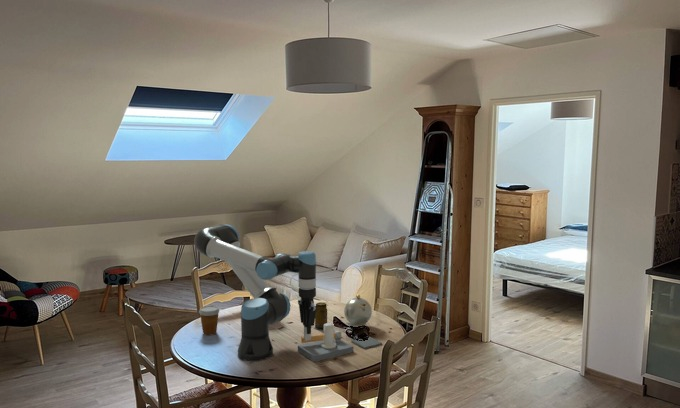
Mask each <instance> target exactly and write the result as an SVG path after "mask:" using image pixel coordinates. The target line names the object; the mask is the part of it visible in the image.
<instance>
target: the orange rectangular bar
mask: <svg viewBox="0 0 680 408" xmlns="http://www.w3.org/2000/svg"><path fill="white" fill-rule="evenodd" d="M334 339H341V340H342V331H341V330H334ZM322 340H324V333H319V334H318V333H317V334H311V340H309V341H304V335H303V336H301V341H300V342H301V344H307V343H312V342H316V341H322Z"/></svg>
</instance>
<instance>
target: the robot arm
mask: <svg viewBox="0 0 680 408" xmlns="http://www.w3.org/2000/svg"><path fill="white" fill-rule="evenodd" d="M239 236H240V235H239V232H238V230H237V229H236V228H235V226H233V225H231V224H218V225H215V226H210V227H204V228H202V229H200V230H199V231H198V232H197V233H196V234H195V236H194V240H193V241H194V242H193V243H194V244H193V245H194V247H195V249H196V250H197V251H198V253H200V254H201V255H203V256H206V257H209V258H210V259H212V258H217V259H219V260H220V259H221V261H222V260H223V261H225V262H226V263H227V264H228V266H229V267H230V268H231V270H232V271H233V272H234V274H235V275H236V276H237V278H238V279H239V280H240V282H241V283H242V284H243V286H244V287H245V289H246V290H247V291H248V292H249V294H250V295H251V296H252V298H250V299H247V300H245V301H244V302H243V303H242V304H241V307H240V325H241V328H240V331H241V338H240V340H239V341H240V342H239V345H238V348H237V357H238V358H239V359H241V360H244V361H250V362H253V361H255V362H258V361H263V360H267V359H270V358H271V357H272V356H273V354H274V347H273V344H272V341H271V339H270V331H269V329H270V326H272V325H273V324H276V323H278V322H280V321H282V320H284V319H285V318H287V317H288V315H289V314H290V312H291V301H290V299H289V297H288V296H287V295H286V294H285V293H283V292H278V290H277V288H276V287H274V286H271V287H269V286H270V285H268V283H267V282H266V281H267V280H271V279H273V278H275V277H277V276H280V275H284V274H286V273H295V274H298V297H300V299H298V300H297V303H298V308H299V317H300V322H301V323H302V325H303V336H304V341H309V340H311V335H312V327H311V326H315V315H316V310H317V306H316V304H315V301H314V298H316V296H317V288H316V287H317V273H316V272H317V257H316V253H315V252H313V251H311V250H309V251H307V250H304V251H303V250H302V251H299V252H298V254H297V255H295V254H290V253H289V254H288V253H278V254H276V255H275V256H274V258H269V257H266V256H263V255H262V254H261V255H260V254H258V253H256V252H252V251H250V250H247V249H244V248H241V247H240V246H241V242H240V237H239ZM275 288H276V289H275Z"/></svg>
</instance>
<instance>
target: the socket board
mask: <svg viewBox="0 0 680 408" xmlns="http://www.w3.org/2000/svg"><path fill="white" fill-rule="evenodd" d="M323 342H324V340H322V341H315V342H307V343H302V344H300V345H297V352H298V353H300V354H301V355H303V356H305V357H306V358H308V359H309V360H311V361H312V362H313V363H315V362H319V361H320V362H321V361H323V360H328V359H330V358H331V359H332V358H336V357H338V356H339V357H340V356H343V355H347V354H350V353H354V346H353V345H352V344H349V343H348V342H346V341H344V340H342V338H341V339H334V342H335V343H336V348H334V349H324V348H322V347H321V343H323Z"/></svg>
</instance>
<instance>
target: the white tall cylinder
mask: <svg viewBox="0 0 680 408" xmlns="http://www.w3.org/2000/svg"><path fill="white" fill-rule="evenodd" d="M334 332H335V325H334V323H331V322H327V323H326V324H324V331H323V334H324V342H323V343H321V347H322V348H324V349H334V348H336V343H335V342H334Z"/></svg>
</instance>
